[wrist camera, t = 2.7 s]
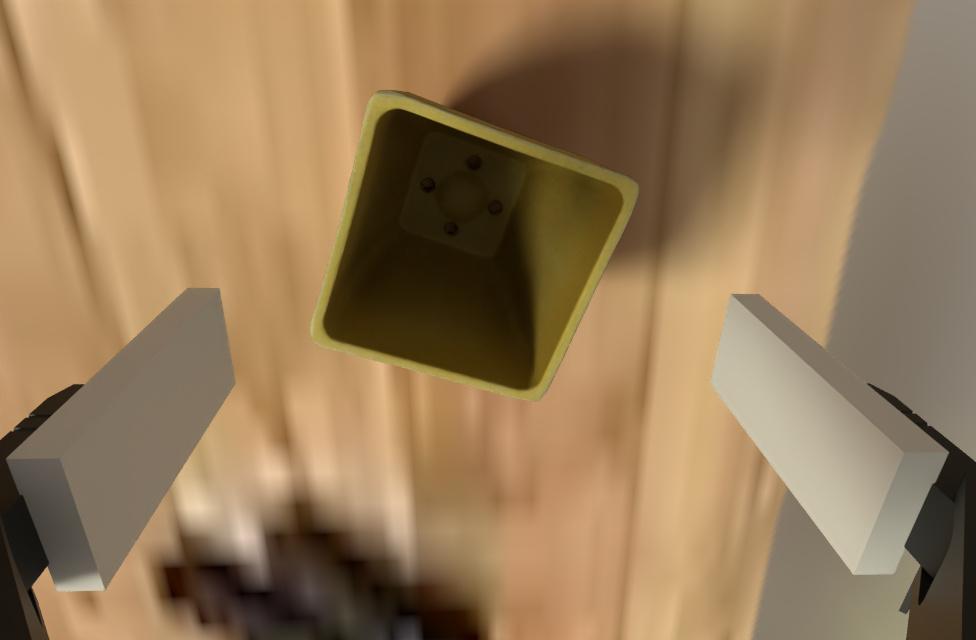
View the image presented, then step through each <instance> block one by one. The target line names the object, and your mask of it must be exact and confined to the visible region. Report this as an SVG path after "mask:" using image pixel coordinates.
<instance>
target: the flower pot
mask: <svg viewBox="0 0 976 640" xmlns="http://www.w3.org/2000/svg"><path fill="white" fill-rule="evenodd" d="M472 156H475V157H478V159H479V160H480V165H479V167H478V168H476V169H471V168H470V167H469V166H468V164H467V161H468V159H469V158H470V157H472ZM425 179H432V180H433V181H434V183H435V187H434V189H433V190H431V191H427V190H425V189H424V188H423V186H422V182H423V181H424V180H425ZM639 190H640V188H639V185H638V183H637V182H636V181H634V180H633V179H631V178H630V177H628V176H626V175H624V174H621V173H619V172H616V171H614V170H612V169H609V168H607V167H604V166H602V165H600V164H598V163H596V162H593V161H591V160H589V159H587V158H585V157H583V156H580V155H577V154H574V153H571V152H568V151H565V150H562V149H559V148H556V147H553V146H551V145H548V144H545V143H542V142H539V141H536V140H534V139H531V138H528V137H525V136H522V135H520V134H517V133H514V132H512V131H509V130H506V129H504V128H501V127H498V126H495V125H493V124H490V123H487V122H485V121H482V120H480V119H477V118H474V117H472V116H469V115H466V114H464V113H461V112H459V111H456V110H453V109H451V108H448V107H446V106H443V105H440V104H438V103H435V102H433V101H430V100H427V99H425V98H422V97H420V96H417V95H415V94H412V93H409V92H402V91H395V90H381V91H378V92H376V93H374V94H373V95H372V96H371V98H370V100H369V102H368V105H367V109H366V114H365V117H364V121H363V125H362V129H361V134H360V138H359V143H358V148H357V152H356V157H355V161H354V166H353V170H352V174H351V178H350V182H349V187H348V191H347V195H346V199H345V203H344V207H343V212H342V216H341V220H340V223H339V227H338V230H337V234H336V238H335V242H334V245H333V248H332V252H331V256H330V259H329V263H328V266H327V270H326V273H325V277H324V281H323V285H322V288H321V291H320V295H319V298H318V302H317V305H316V308H315V311H314V315H313V318H312V322H311V327H310V336H311V340H312V341H313V343H315V344H317V345H320V346H322V347H325V348H328V349H332V350H336V351H340V352H344V353H348V354H352V355H356V356H360V357H363V358H367V359H371V360H375V361H379V362H383V363H387V364H391V365H395V366H399V367H403V368H406V369H410V370H413V371H417V372H421V373H425V374H428V375H432V376H436V377H440V378H443V379H447V380H450V381H454V382H458V383H462V384H466V385H470V386H473V387H476V388H479V389H482V390H486V391H490V392H494V393H498V394H502V395H505V396H509V397H513V398H517V399H522V400H528V401H532V402H537V401H539V400H540V399H541V398H542V397H543V396H544V395H545V393H546V392H547V390H548V388H549V387H550V385H551V383H552V380H553V378H554V376H555V374H556V372H557V370H558V368H559V366H560V364H561V362H562V360H563V358H564V355H565V353H566V351H567V349H568V347H569V344H570V342H571V340H572V338H573V336H574V334H575V332H576V330H577V327H578V325H579V323H580V321H581V319H582V317H583V315H584V313H585V311H586V309H587V307H588V304H589V302H590V300H591V298H592V295H593V293H594V291H595V289H596V287H597V285H598V283H599V281H600V279H601V277H602V275H603V273H604V271H605V269H606V267H607V264H608V262H609V260H610V258H611V256H612V254H613V252H614V250H615V248H616V246H617V244H618V242H619V240H620V238H621V236H622V234H623V232H624V230H625V228H626V226H627V223H628V221H629V219H630V217H631V214H632V212H633V209H634V207H635V204H636V201H637V198H638V195H639ZM495 201H496V202H499V203H500V205H501V210H500V211H499V212H498V213H492V212H491V211H490V210H489V205H490V204H491V203H492V202H495ZM451 222H452V223H455V224H456V226H457V230H456V232H454V233H453V234H450V233H447V232H446V230H445V226H446V224H448V223H451Z"/></svg>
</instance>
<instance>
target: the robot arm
mask: <svg viewBox="0 0 976 640" xmlns="http://www.w3.org/2000/svg"><path fill="white" fill-rule="evenodd" d="M235 383H236V382H235V377H234V371H233V365H232V359H231V353H230V347H229V342H228V336H227V330H226V324H225V318H224V313H223V307H222V301H221V295H220V289H219V288H187V289H186V290H185V291H184V292H183V293H182V294H181V295H180V296H178V297H177V298H176V299H175V300H174V301H173V302H172V303H171V304H170V305H169V306H168V307H167V308H166V309H165V310H164V311H162V312H161V313H160V314H159V315H158V316H157V317H156V318H155V319H154V320H153V321H152V322H151V323H150V324H149V325H148V326H147V327H145V328H144V329H143V330H142V331H141V332H140V333H139V334H138V335H137V336H136V337H135V338H134V339H133V340H132V341H131V342H129V343H128V344H127V345H126V346H125V347H124V348H123V349H122V350H121V351H120V352H119V353H118V354H117V355H116V356H115V357H113V358H112V359H111V360H110V361H109V362H108V363H107V364H106V365H105V366H104V367H103V368H102V369H101V370H100V371H99V372H98V373H96V374H95V375H94V376H93V377H92V378H91V379H90V380H89V381H88V382H87V383H86V384H74V385H72V386H70V387H68V388H66V389H64V390H62V391H60V392H59V393H57V394H55V395H53V396H51V397H49V398H47V399H46V400H45V401H44V402H43V403H42V404H40V405H39V406H38V407H37V408H36V409H35V410H34V411H33V412H31V413H30V414H29V418H25V419H24V420H22V421H21V422H20V423H19V424H18V425H17V426H16V427H15V428H14V431H10V432H9V433H8V434H7V435H6V436H4V437H3V438H2V439H1V440H0V640H49V637H48V634H47V630H46V627H45V624H44V620H43V617H42V614H41V611H40V607H39V604H38V601H37V598H36V596H35V593H34V591H33V589H32V585H33V584H34V582H35V581H36V580H37V579H38V577H39V576H40V575H41V573H42V572H43V571H44V569H45V568H46V567H47V566H48V569H49V571H50V574H51V576H52V579H53V581H54V584H55V587H56V589H57V591H99V590H106V588H107V586H108V585H109V583H110V582H111V580H112V579H113V577H114V575H115V574H116V572H117V571H118V569H119V567H120V566H121V564H122V563H123V561H124V559H125V558H126V556H127V555H128V553H129V552H130V550H131V548H132V547H133V545H134V544H135V542H136V540H137V539H138V537H139V536H140V534H141V532H142V531H143V529H144V528H145V526H146V525H147V523H148V521H149V520H150V518H151V517H152V515H153V513H154V512H155V510H156V509H157V507H158V506H159V504H160V502H161V501H162V499H163V498H164V496H165V494H166V493H167V491H168V490H169V488H170V486H171V485H172V483H173V482H174V480H175V479H176V477H177V475H178V474H179V472H180V471H181V469H182V467H183V466H184V464H185V463H186V461H187V459H188V458H189V456H190V455H191V453H192V452H193V450H194V448H195V447H196V445H197V444H198V442H199V440H200V439H201V437H202V436H203V434H204V432H205V431H206V429H207V428H208V426H209V425H210V423H211V421H212V420H213V418H214V417H215V415H216V413H217V412H218V410H219V409H220V407H221V406H222V404H223V402H224V401H225V399H226V398H227V396H228V394H229V393H230V391H231V390H232V388H233V386H234V385H235ZM710 384H711V385H712V387H713V388H714V389H715V391H716V392H717V393H718V395H719V396H720V397H721V399H722V400H723V401H724V403H725V404H726V405H727V407H728V408H729V409H730V411H731V412H732V413H733V415H734V416H735V417H736V419H737V420H738V421H739V423H740V424H741V425H742V427H743V428H744V429H745V431H746V432H747V433H748V435H749V436H750V437H751V439H752V440H753V441H754V443H755V444H756V445H757V447H758V448H759V449H760V451H761V452H762V453H763V455H764V456H765V457H766V459H767V460H768V461H769V463H770V464H771V465H772V467H773V468H774V469H775V471H776V472H777V473H778V475H779V476H780V477H781V479H782V480H783V481H784V483H785V484H786V485H787V487H788V488H789V489H790V491H791V492H792V493H793V495H794V496H795V497H796V499H797V500H798V501H799V502H800V504H801V505H802V506H803V508H804V509H805V511H806V512H807V513H808V515H809V516H810V517H811V518H812V520H813V521H814V523H815V524H816V525H817V527H818V528H819V529H820V531H821V532H822V533H823V535H825V537H826V539H827V540H828V541H829V543H830V544H831V545H832V547H833V548H834V549H835V551H836V552H837V553H838V554H839V556H840V557H841V559H842V560H843V561H844V563H845V564H846V565H847V567H848V568H849V569H850V570H851V572H852V573H853V574H854V575H867V574H894V572H895V570H896V568H897V566H898V563H899V561H900V559H901V557H902V555H903V553H904V550H905V548H906V549H907V550H908V551H909V552H910V554H911V555H912V556H913V557H914V558H915V559H916V560H917V561H918V563H919V564H920V565H921V566H920V568H919V570H918V572H917V574H916V576H915V578H914V580H913V582H912V584H911V587H910V589H909V591H908V593H907V595H906V597H905V599H904V601H903V603H902V605H901V607H900V610H899V611H901V612H903V613H905V614H906V613H907V612H908V610H909V609H910V612H909V620H908V629H907V637H906V640H976V462H975V461H974V460H973V459H971V458H970V457H969V456H968V455H966V454H965V453H964V452H963V451H962V450H960V449H959V448H958V447H956V446H955V445H954V444H953V443H952V442H950V441H949V440H948V439H946V438H945V437H944V436H943V435H942V434H940V433H939V432H938V431H937V430H935V429H934V428H933V427H931V426H927V422H925V421H924V420H923V419H921V417H919V416H918V415H917V414H913V413H912V410H911V409H909V408H908V407H907V406H906V405H904V404H903V403H902V402H901V401H899V400H898V399H897V398H896V397H894V396H893V395H891V394H889V393H887V392H885V391H883V390H881V389H879V388H877V387H875V386H873V385H871V384H866V383H865V382H864V381H863V380H861V379H860V378H859V377H857V375H855V374H854V373H853V372H852V371H850V370H849V369H848V368H847V367H846V366H844V365H843V364H842V363H841V362H840V361H838V360H837V359H836V358H835V357H833V356H832V355H831V354H830V353H829V352H828V351H826V350H825V349H824V348H823V347H822V346H820V345H819V344H818V343H817V342H816V341H814V340H813V339H812V338H811V337H810V336H808V335H807V334H806V333H805V332H804V331H802V330H801V329H800V328H799V327H797V326H796V325H795V324H794V323H793V322H791V321H790V320H789V319H788V318H787V317H785V316H784V315H783V314H782V313H781V312H779V311H778V310H777V309H776V308H775V307H773V306H772V305H771V304H770V303H769V302H767V301H766V300H765V299H764V298H763V297H761V296H760V295H759V294H730V298H729V303H728V307H727V312H726V316H725V320H724V325H723V329H722V334H721V338H720V342H719V347H718V351H717V356H716V360H715V364H714V369H713V373H712V377H711V382H710Z"/></svg>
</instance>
